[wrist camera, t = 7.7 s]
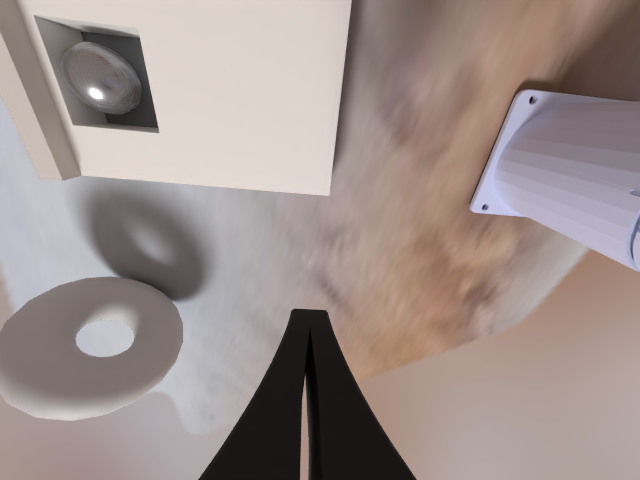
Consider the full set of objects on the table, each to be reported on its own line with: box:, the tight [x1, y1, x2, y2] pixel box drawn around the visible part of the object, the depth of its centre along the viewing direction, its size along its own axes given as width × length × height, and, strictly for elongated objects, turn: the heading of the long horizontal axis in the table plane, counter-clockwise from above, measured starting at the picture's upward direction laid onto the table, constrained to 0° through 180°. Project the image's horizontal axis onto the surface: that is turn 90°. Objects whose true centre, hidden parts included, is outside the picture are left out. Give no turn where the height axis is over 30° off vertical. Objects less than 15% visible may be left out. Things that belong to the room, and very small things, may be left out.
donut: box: [0, 277, 183, 421], centre depth 17 cm, size 10×4×10 cm, turn 51°
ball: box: [60, 42, 142, 114], centre depth 13 cm, size 3×3×3 cm
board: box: [0, 0, 352, 196], centre depth 13 cm, size 16×10×4 cm, turn 85°
